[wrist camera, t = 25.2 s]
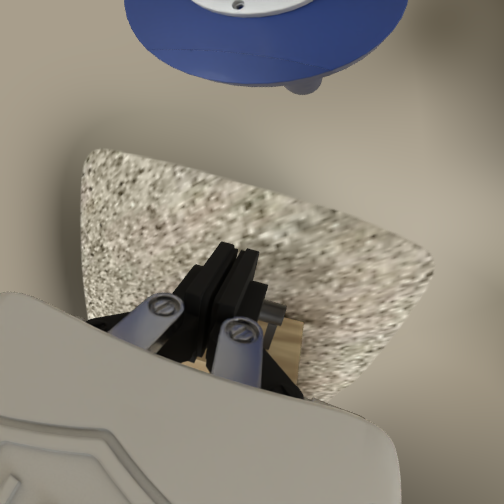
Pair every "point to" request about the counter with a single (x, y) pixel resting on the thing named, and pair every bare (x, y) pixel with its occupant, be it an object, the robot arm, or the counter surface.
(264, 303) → the drawer
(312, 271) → the counter surface
